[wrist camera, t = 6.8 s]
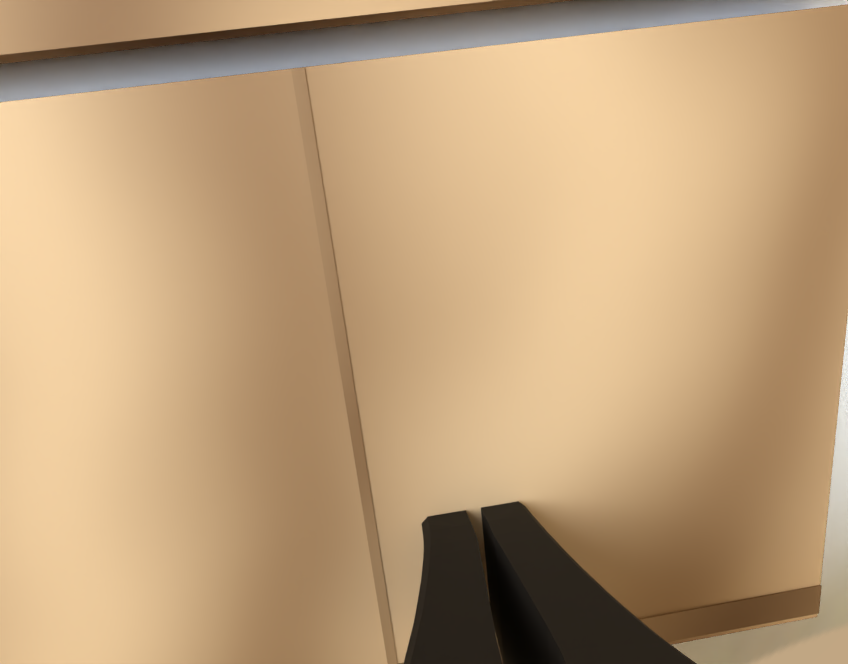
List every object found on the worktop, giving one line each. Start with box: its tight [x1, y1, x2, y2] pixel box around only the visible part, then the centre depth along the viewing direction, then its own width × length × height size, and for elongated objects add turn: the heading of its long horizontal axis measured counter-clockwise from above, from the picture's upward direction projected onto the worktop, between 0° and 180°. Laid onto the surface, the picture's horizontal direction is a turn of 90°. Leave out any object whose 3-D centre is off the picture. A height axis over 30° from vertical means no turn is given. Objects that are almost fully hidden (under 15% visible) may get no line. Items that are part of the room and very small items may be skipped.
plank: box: [0, 5, 848, 664], centre depth 11 cm, size 18×10×1 cm, turn 96°
